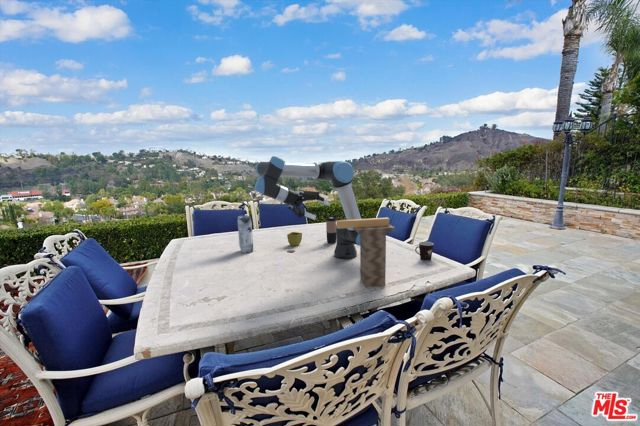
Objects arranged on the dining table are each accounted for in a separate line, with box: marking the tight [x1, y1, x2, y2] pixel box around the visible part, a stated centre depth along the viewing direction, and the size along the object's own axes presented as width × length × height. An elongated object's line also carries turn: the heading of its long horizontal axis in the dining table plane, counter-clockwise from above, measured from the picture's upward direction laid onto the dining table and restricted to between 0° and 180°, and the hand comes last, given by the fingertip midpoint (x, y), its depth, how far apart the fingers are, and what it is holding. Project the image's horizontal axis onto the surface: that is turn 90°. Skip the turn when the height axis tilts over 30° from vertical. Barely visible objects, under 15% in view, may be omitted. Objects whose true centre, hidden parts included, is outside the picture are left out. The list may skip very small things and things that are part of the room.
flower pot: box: [286, 231, 303, 247], centre depth 217 cm, size 9×9×9 cm
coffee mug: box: [414, 241, 434, 261], centre depth 179 cm, size 12×9×10 cm
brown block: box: [336, 217, 390, 229], centre depth 141 cm, size 26×3×4 cm, turn 98°
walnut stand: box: [353, 223, 396, 288], centre depth 144 cm, size 18×12×30 cm, turn 98°
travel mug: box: [325, 215, 337, 245], centre depth 219 cm, size 8×8×20 cm
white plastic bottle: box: [237, 213, 254, 254], centre depth 203 cm, size 9×10×27 cm
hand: (321, 210), depth 150 cm, fingers open, 13 cm apart
